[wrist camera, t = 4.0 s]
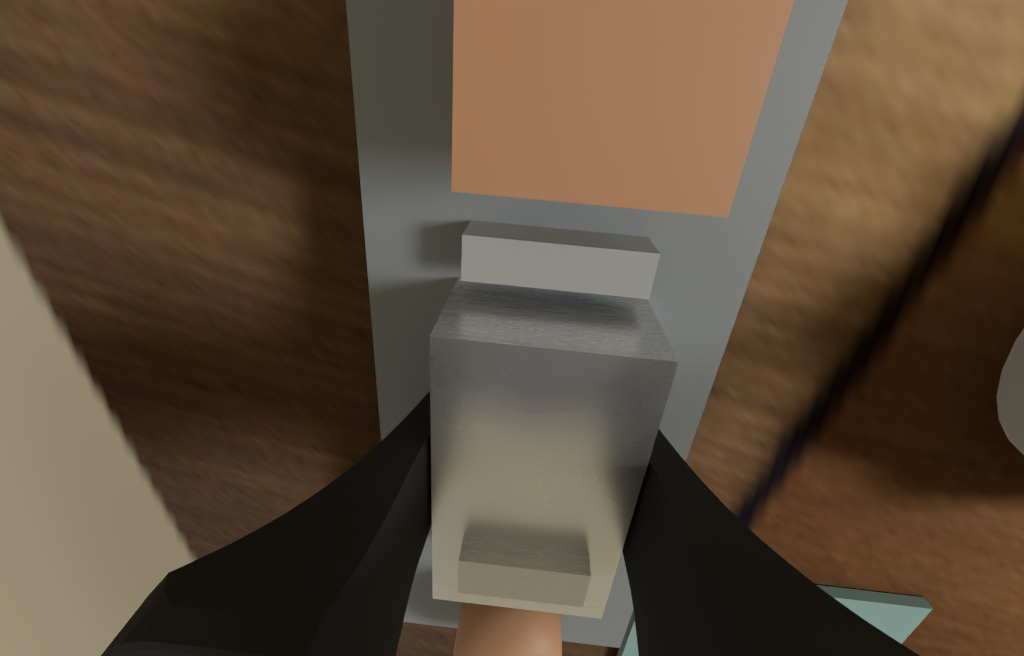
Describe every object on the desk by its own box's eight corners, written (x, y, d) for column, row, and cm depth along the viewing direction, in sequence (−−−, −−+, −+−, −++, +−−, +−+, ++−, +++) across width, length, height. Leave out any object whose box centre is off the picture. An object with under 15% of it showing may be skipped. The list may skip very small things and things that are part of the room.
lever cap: (453, 506, 14) (427, 622, 11) (459, 277, 11) (421, 353, 7) (591, 521, 14) (604, 643, 11) (645, 295, 11) (688, 380, 7)
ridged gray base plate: (415, 552, 20) (344, 794, 13) (391, -66, 10) (28, -443, 3) (610, 575, 20) (644, 834, 13) (788, -35, 10) (1400, -371, 3)
